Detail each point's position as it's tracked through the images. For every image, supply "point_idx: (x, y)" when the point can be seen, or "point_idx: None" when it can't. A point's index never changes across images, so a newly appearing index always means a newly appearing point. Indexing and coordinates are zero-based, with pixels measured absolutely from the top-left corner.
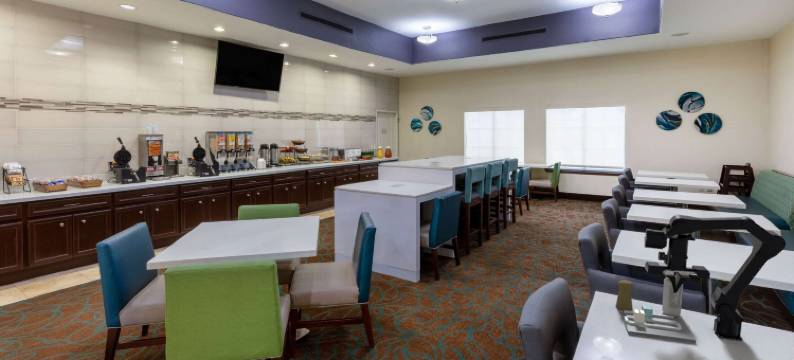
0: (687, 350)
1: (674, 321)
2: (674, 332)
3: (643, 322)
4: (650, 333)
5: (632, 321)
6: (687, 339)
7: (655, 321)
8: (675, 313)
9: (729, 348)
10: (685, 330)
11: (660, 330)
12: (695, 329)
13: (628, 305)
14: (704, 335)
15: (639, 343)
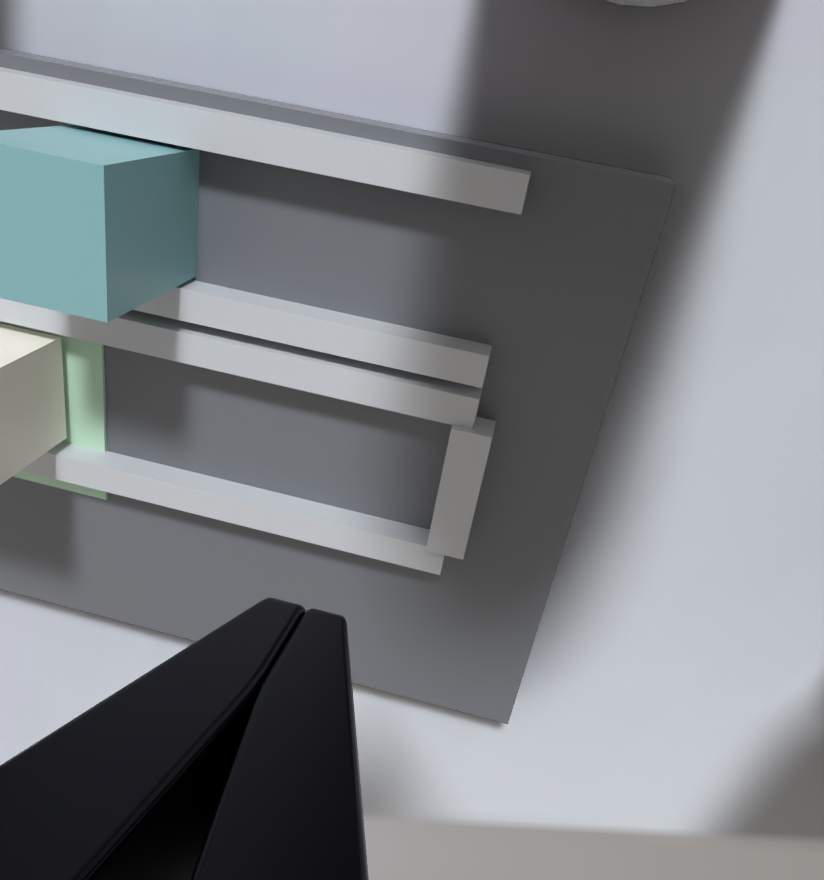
0: (369, 781)
1: (454, 379)
2: (354, 587)
3: (43, 444)
4: (104, 606)
5: None
6: (429, 700)
7: (210, 362)
8: (658, 2)
9: (801, 774)
10: (509, 542)
11: (217, 551)
12: (722, 404)
13: None
14: (729, 547)
15: (19, 682)
